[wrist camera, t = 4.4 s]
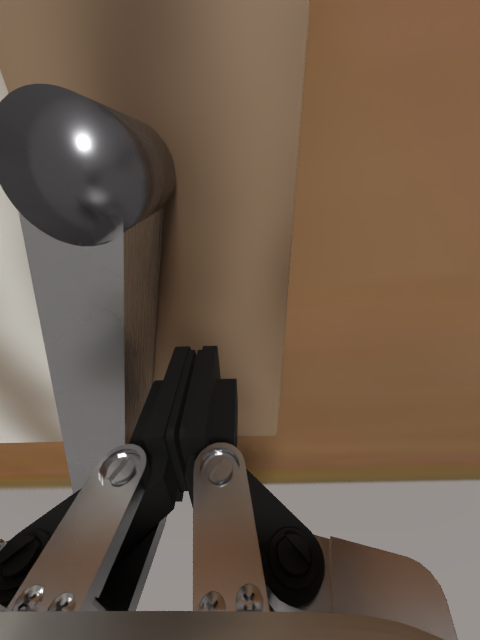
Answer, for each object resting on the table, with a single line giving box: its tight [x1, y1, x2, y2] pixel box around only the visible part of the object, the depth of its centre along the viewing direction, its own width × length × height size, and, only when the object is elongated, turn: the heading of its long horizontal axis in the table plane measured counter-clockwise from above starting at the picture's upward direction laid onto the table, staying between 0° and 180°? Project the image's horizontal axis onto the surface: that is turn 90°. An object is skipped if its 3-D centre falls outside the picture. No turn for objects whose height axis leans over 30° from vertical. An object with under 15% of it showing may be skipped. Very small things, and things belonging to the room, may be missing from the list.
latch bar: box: [0, 84, 176, 494], centre depth 9 cm, size 13×3×4 cm, turn 168°
